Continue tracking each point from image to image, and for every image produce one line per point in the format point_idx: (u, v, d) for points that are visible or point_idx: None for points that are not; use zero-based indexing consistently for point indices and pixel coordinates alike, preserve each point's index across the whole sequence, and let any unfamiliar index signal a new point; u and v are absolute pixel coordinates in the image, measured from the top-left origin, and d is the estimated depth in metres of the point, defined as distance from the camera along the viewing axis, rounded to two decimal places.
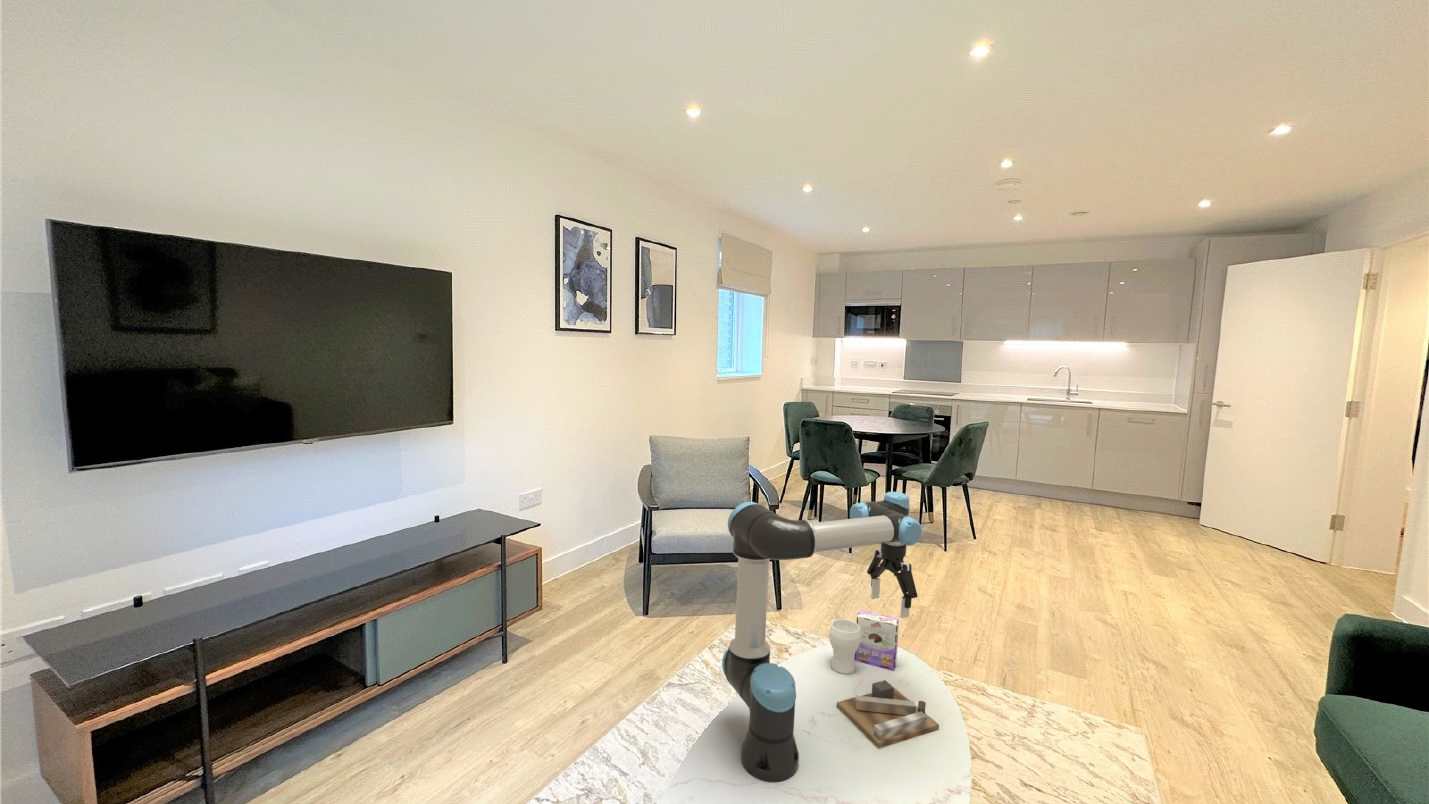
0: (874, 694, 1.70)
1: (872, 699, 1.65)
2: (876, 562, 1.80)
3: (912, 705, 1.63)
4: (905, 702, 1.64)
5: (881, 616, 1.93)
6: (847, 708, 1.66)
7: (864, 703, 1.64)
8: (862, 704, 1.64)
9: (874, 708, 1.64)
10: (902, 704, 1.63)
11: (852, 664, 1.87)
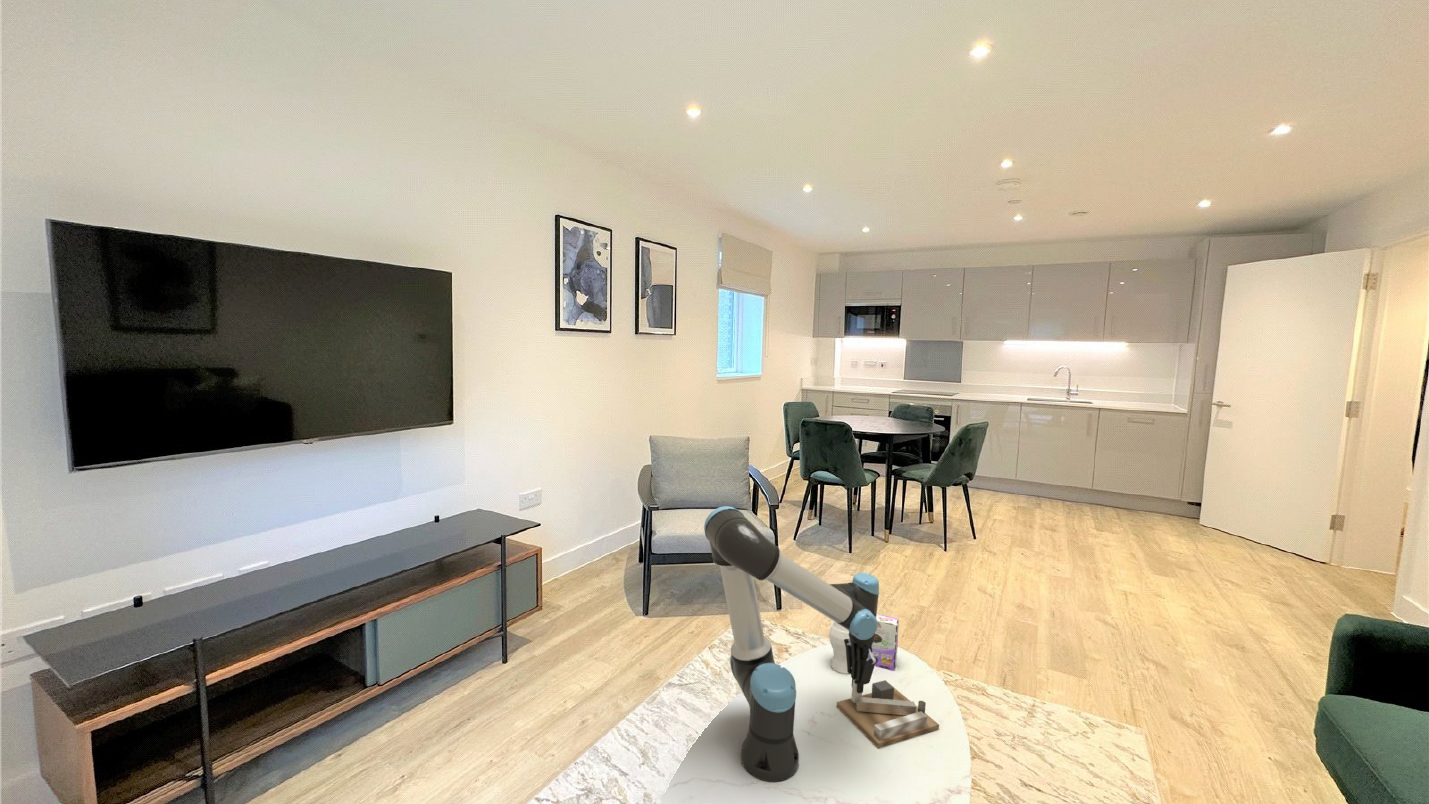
0: (874, 694, 1.70)
1: (872, 700, 1.64)
2: (850, 653, 1.69)
3: (912, 705, 1.63)
4: (905, 703, 1.64)
5: (881, 616, 1.93)
6: (847, 708, 1.66)
7: (865, 704, 1.63)
8: (862, 705, 1.64)
9: (874, 709, 1.63)
10: (902, 704, 1.63)
11: None
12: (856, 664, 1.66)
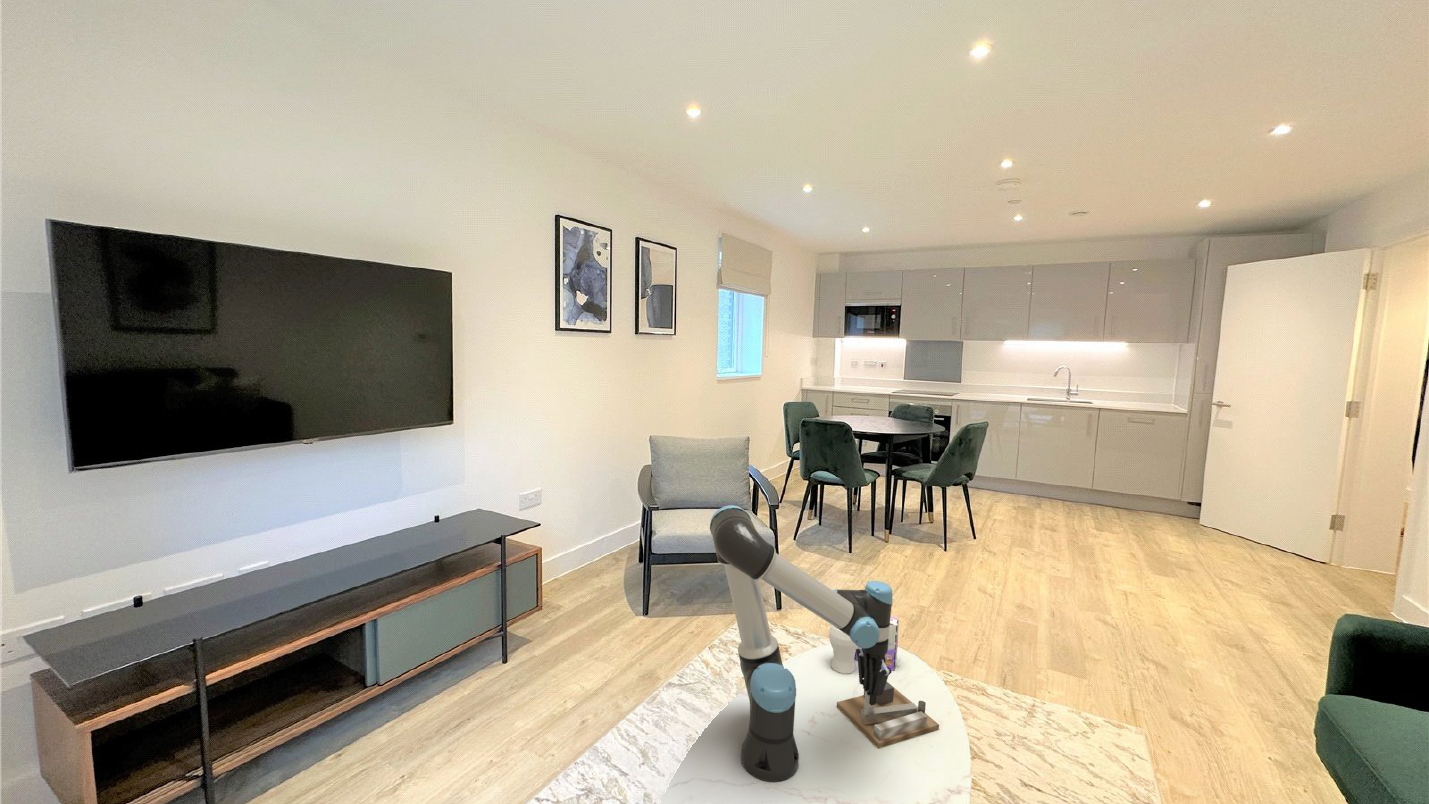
0: None
1: (878, 710, 1.60)
2: (862, 664, 1.64)
3: (914, 707, 1.62)
4: (907, 706, 1.62)
5: None
6: (847, 708, 1.66)
7: (872, 716, 1.58)
8: (870, 717, 1.58)
9: (881, 719, 1.59)
10: (906, 708, 1.61)
11: (852, 664, 1.87)
12: (868, 675, 1.61)
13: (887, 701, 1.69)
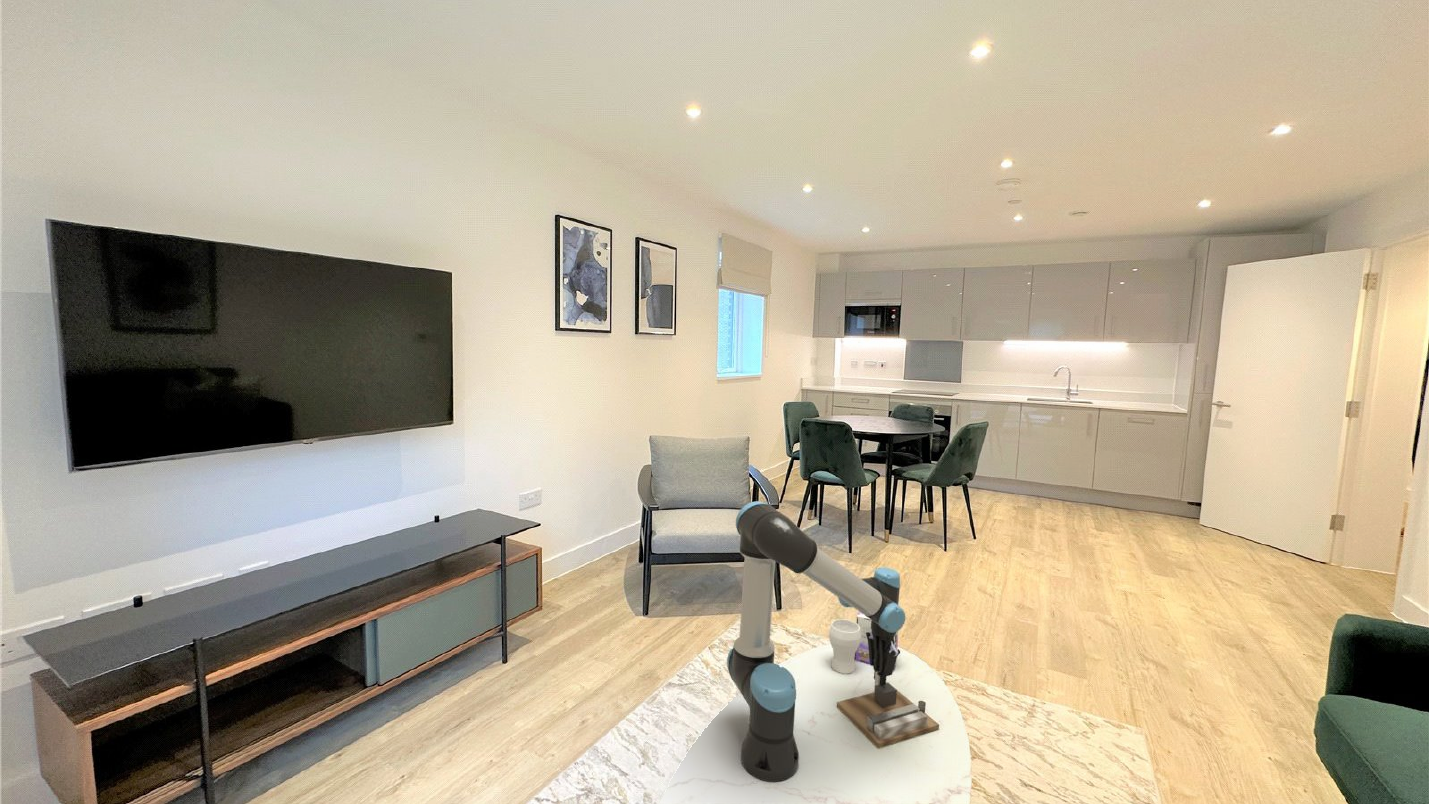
0: (877, 696, 1.68)
1: (883, 715, 1.58)
2: (872, 646, 1.73)
3: (916, 708, 1.61)
4: (909, 707, 1.62)
5: None
6: (847, 708, 1.66)
7: (879, 723, 1.56)
8: None
9: None
10: (908, 710, 1.60)
11: (852, 664, 1.87)
12: (878, 656, 1.71)
13: (890, 703, 1.67)
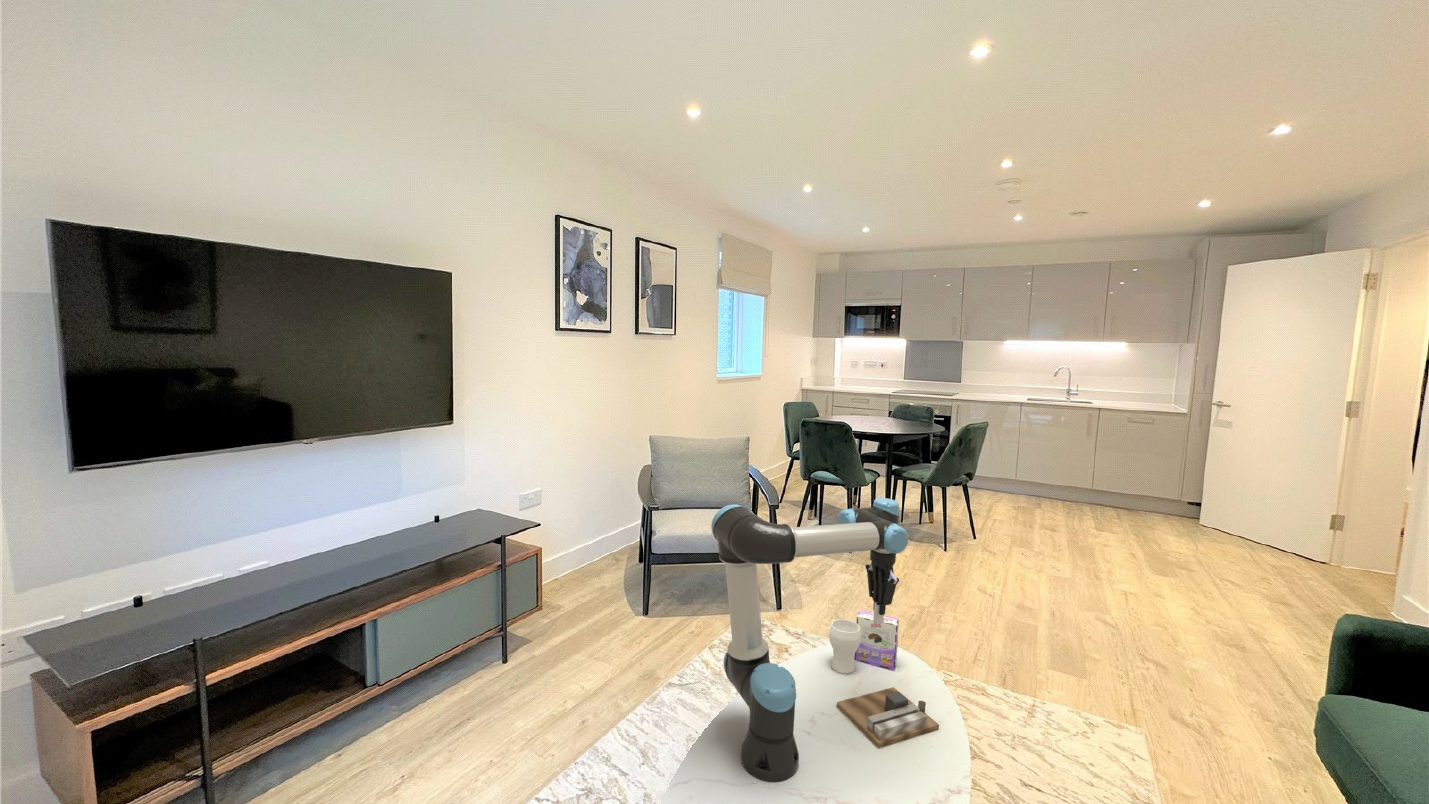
0: (888, 706, 1.64)
1: (883, 715, 1.58)
2: (871, 578, 1.74)
3: (916, 708, 1.61)
4: (909, 707, 1.62)
5: None
6: (847, 708, 1.66)
7: (879, 723, 1.56)
8: None
9: None
10: (908, 710, 1.60)
11: (852, 664, 1.87)
12: (877, 587, 1.71)
13: None
